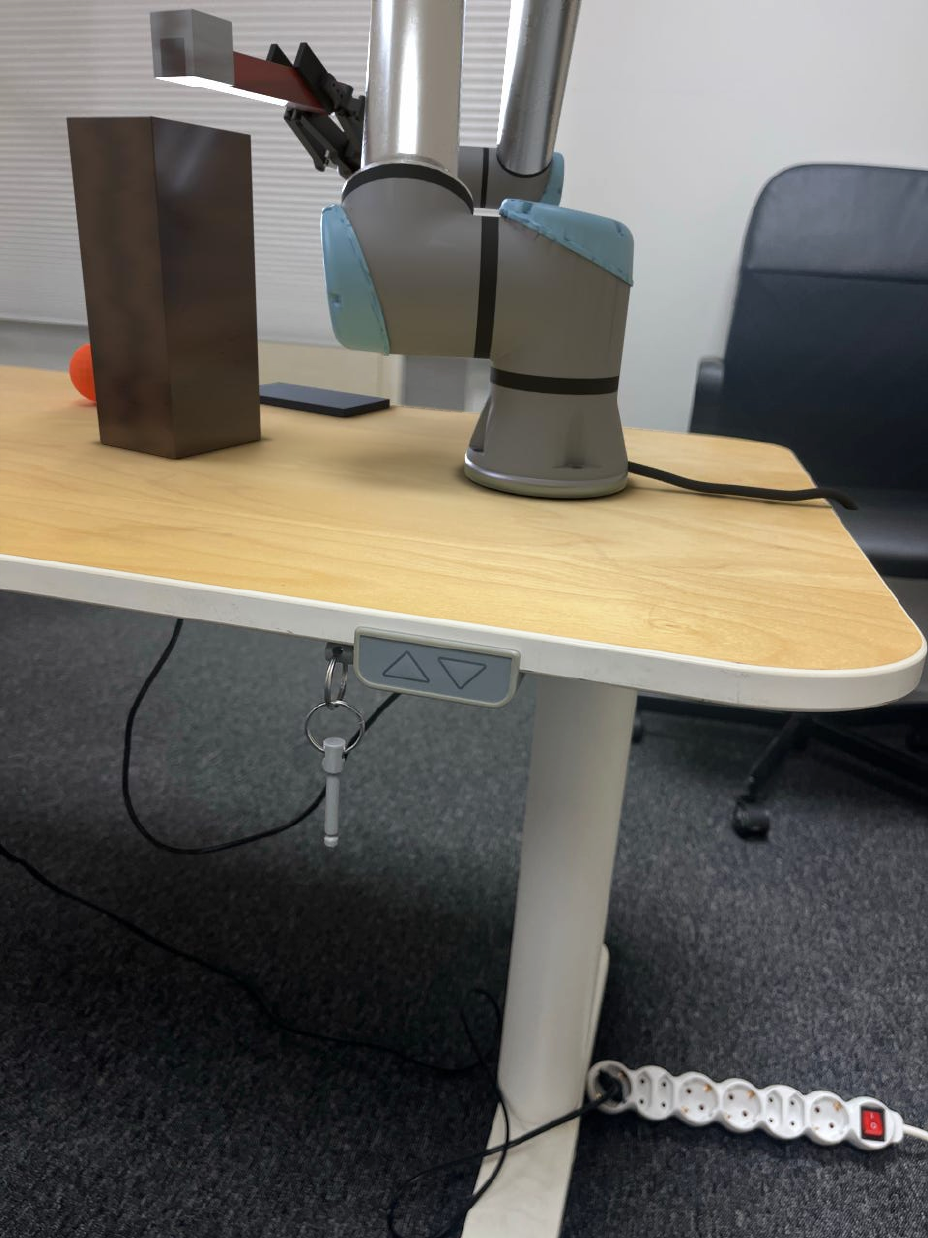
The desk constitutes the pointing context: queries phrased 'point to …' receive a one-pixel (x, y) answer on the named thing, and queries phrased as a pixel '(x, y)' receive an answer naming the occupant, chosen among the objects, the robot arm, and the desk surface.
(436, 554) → the desk surface
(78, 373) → the clementine
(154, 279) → the tall post
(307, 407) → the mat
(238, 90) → the hammer
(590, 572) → the desk surface
